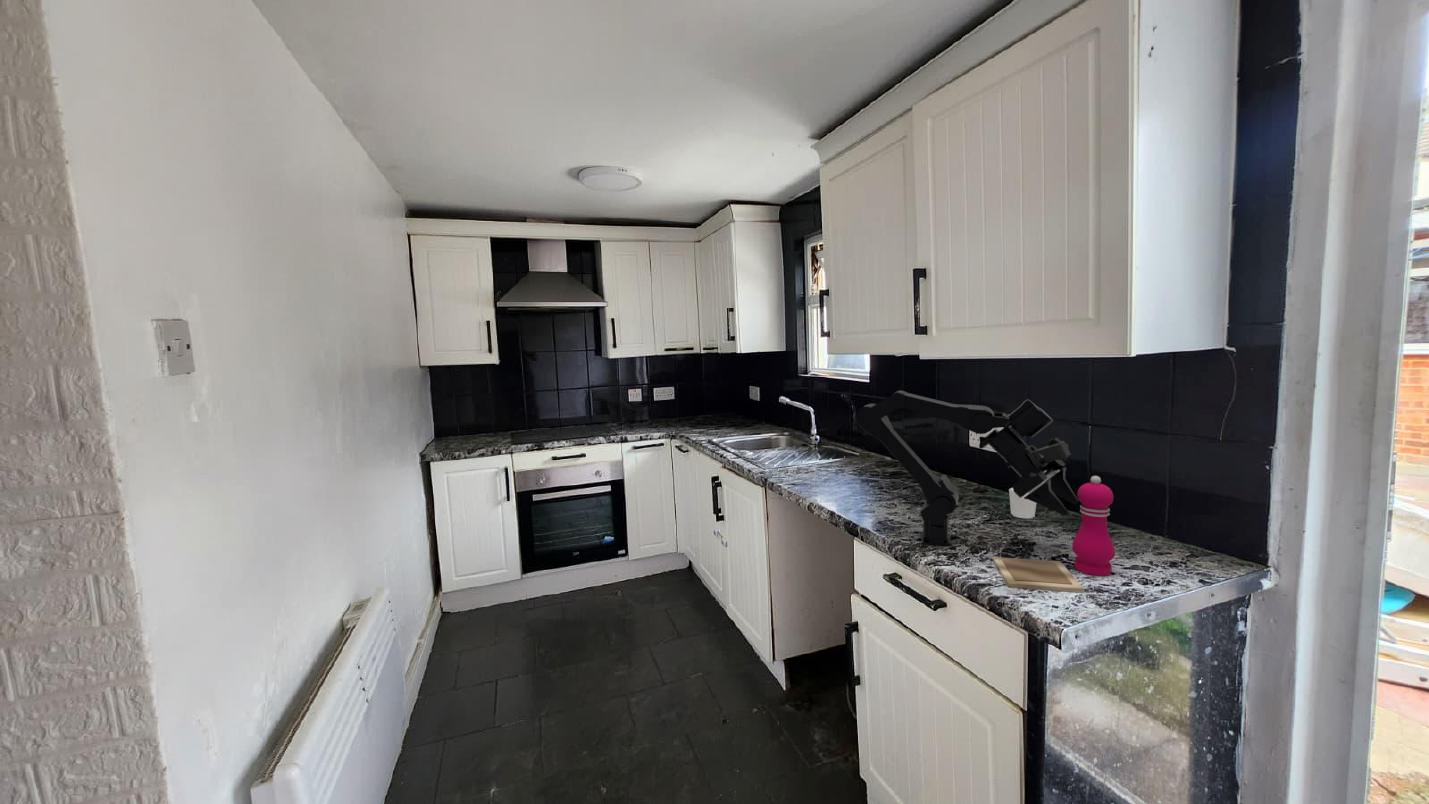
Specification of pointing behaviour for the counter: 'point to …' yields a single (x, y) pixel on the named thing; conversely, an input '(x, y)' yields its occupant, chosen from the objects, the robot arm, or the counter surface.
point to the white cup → (1021, 506)
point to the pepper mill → (1094, 530)
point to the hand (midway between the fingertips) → (1071, 508)
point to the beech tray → (1037, 574)
